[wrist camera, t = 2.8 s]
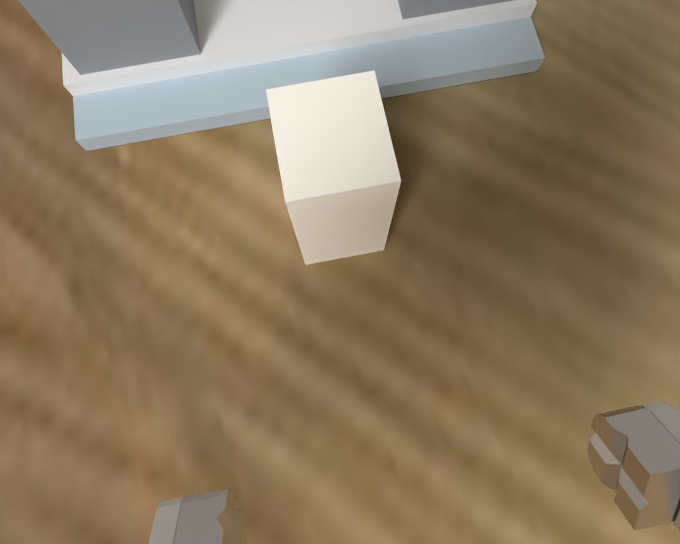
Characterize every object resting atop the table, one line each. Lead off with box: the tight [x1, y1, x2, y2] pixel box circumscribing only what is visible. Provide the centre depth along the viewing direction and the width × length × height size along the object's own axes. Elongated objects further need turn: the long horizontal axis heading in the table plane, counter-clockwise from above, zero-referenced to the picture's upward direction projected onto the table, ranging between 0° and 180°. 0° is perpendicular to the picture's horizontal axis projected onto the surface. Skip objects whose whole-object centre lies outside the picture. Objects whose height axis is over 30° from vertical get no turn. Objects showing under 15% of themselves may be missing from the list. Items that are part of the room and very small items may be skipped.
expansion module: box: [266, 70, 401, 265], centre depth 23 cm, size 5×4×9 cm
